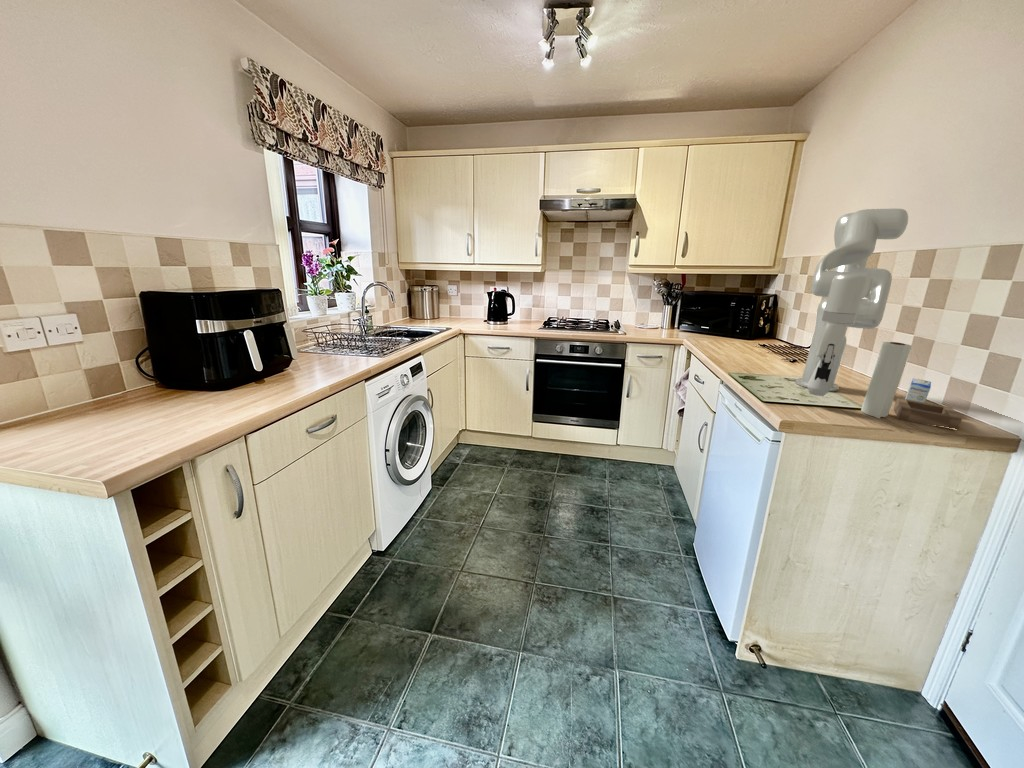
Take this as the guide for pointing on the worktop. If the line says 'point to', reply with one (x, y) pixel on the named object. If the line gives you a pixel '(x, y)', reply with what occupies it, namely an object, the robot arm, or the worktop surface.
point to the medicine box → (918, 390)
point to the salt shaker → (819, 382)
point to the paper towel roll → (885, 378)
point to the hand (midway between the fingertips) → (821, 378)
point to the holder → (926, 413)
